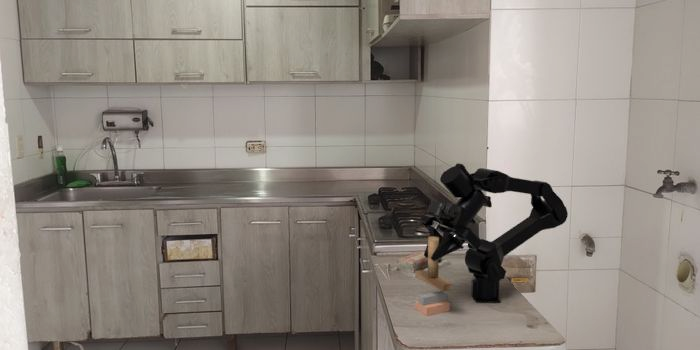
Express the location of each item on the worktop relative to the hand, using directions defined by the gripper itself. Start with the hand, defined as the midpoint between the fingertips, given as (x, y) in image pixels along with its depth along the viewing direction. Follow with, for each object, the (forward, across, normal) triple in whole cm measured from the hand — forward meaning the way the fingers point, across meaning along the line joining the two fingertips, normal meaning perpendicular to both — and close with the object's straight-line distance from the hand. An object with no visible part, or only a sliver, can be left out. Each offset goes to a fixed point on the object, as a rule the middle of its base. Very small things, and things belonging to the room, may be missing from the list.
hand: (428, 258), depth 139 cm
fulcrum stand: (+9, 0, +10) cm, 14 cm away
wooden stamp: (+4, 0, +6) cm, 7 cm away
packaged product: (-3, -30, +23) cm, 38 cm away
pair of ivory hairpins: (+6, -30, +14) cm, 34 cm away
